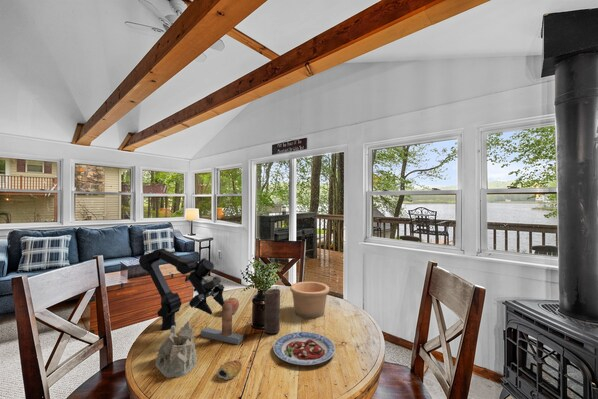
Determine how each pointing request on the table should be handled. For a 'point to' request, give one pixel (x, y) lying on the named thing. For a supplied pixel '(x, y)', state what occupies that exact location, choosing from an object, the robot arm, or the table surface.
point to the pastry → (229, 369)
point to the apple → (233, 304)
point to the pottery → (309, 299)
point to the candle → (272, 311)
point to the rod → (226, 319)
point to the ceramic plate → (304, 348)
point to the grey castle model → (177, 353)
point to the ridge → (218, 336)
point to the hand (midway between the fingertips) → (218, 310)
